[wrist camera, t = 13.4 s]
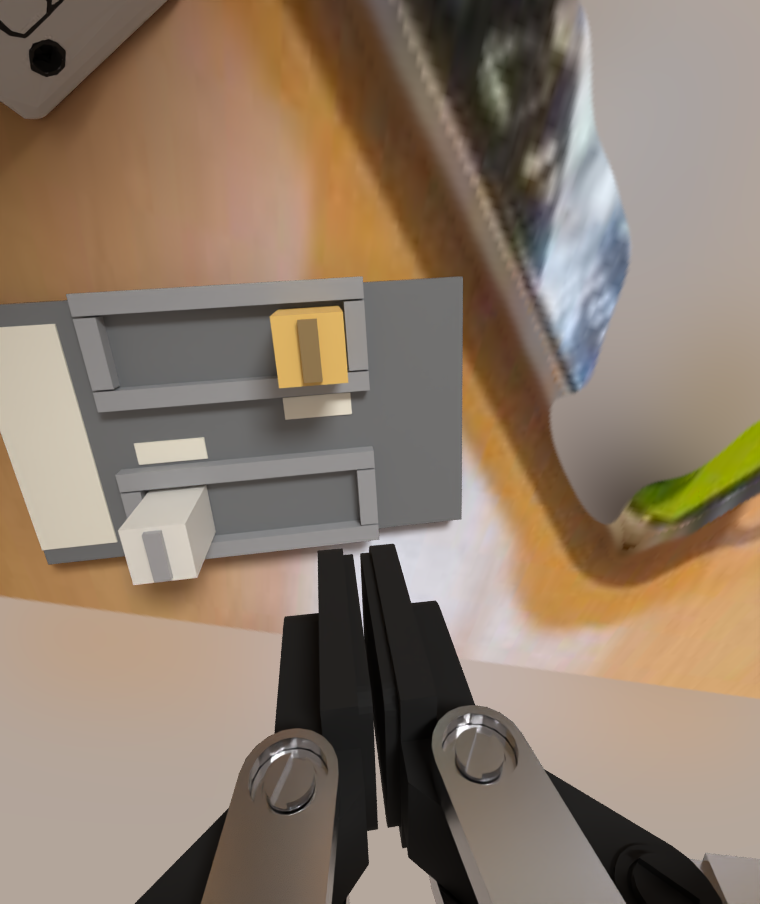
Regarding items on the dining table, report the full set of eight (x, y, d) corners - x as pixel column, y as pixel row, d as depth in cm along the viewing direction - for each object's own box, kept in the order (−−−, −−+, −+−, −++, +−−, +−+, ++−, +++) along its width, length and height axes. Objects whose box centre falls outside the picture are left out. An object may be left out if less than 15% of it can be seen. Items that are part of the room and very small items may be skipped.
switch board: (-23, 299, 23) (-57, 301, 21) (454, 270, 26) (467, 270, 24) (63, 554, 29) (42, 577, 26) (454, 512, 31) (465, 530, 29)
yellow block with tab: (278, 309, 24) (268, 317, 19) (338, 305, 24) (343, 312, 20) (285, 369, 25) (278, 390, 20) (343, 364, 25) (348, 384, 21)
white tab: (150, 489, 26) (115, 533, 22) (206, 484, 26) (183, 526, 22) (161, 537, 27) (131, 589, 23) (215, 531, 27) (195, 581, 23)
